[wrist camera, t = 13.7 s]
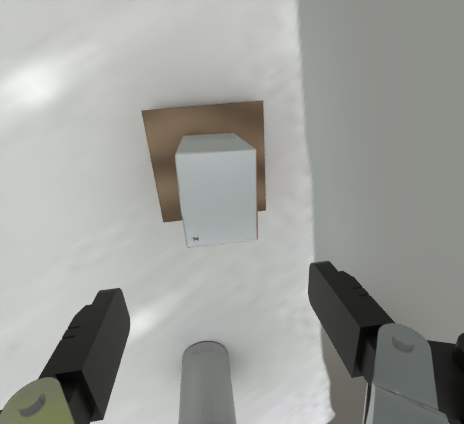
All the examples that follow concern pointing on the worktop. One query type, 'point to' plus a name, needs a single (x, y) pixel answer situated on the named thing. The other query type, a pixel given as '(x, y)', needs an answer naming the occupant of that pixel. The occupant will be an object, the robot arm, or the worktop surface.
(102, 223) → the worktop surface
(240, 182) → the small box
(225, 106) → the walnut stand
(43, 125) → the worktop surface
